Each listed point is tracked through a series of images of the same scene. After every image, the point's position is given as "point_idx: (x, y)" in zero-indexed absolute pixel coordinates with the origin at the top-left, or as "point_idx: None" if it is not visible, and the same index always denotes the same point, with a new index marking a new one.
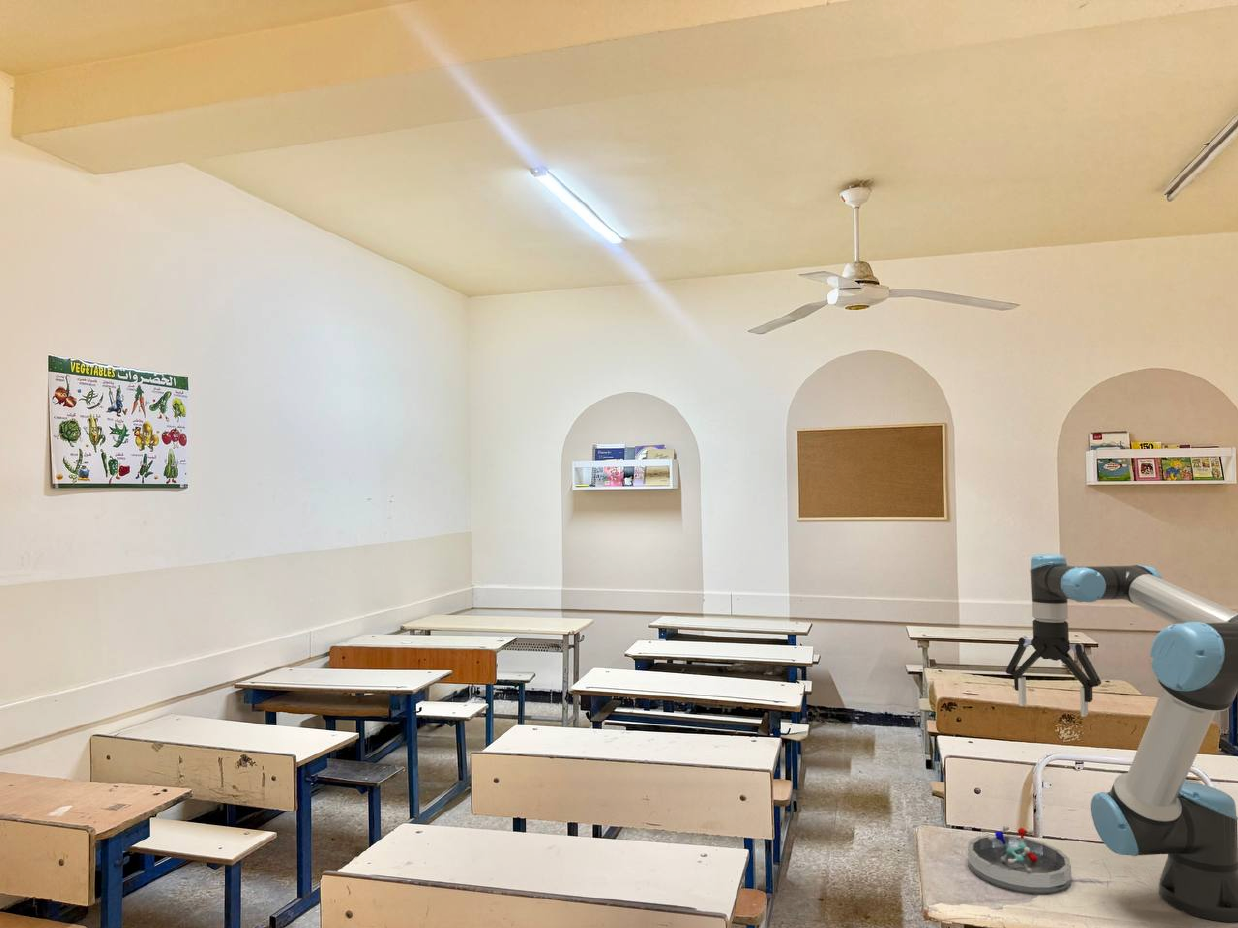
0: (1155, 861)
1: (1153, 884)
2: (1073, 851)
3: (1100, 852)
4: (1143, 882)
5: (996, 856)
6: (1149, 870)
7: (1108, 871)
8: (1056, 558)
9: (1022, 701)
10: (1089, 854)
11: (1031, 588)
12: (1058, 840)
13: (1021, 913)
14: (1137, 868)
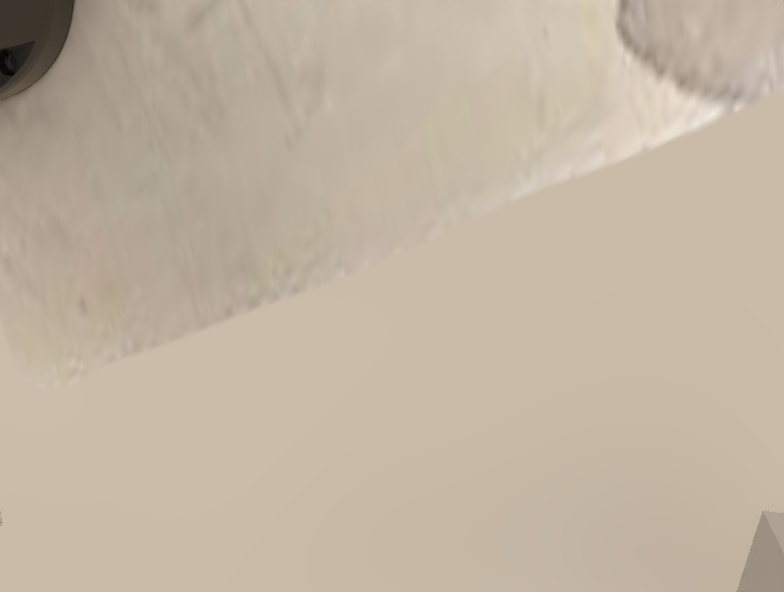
0: (161, 233)
1: (106, 13)
2: (399, 138)
3: (319, 194)
4: (134, 6)
5: None
6: (152, 137)
7: (250, 23)
8: None
9: (781, 572)
10: (345, 148)
11: None
12: (470, 214)
13: None
14: (185, 128)
